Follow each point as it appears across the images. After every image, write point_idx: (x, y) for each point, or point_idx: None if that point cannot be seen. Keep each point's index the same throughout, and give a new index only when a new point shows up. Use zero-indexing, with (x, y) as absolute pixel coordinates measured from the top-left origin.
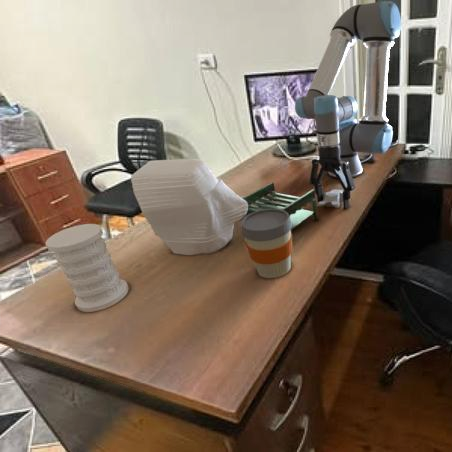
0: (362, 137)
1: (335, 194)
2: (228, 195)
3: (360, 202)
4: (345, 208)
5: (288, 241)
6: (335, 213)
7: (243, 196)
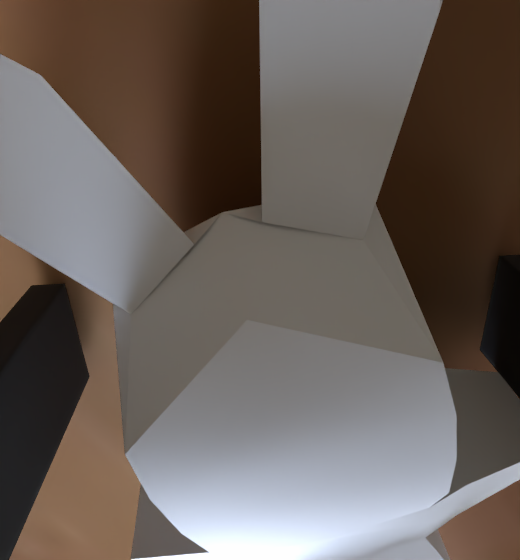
0: None
1: (195, 450)
2: None
3: (34, 503)
4: (30, 294)
5: None
6: (73, 97)
7: None
